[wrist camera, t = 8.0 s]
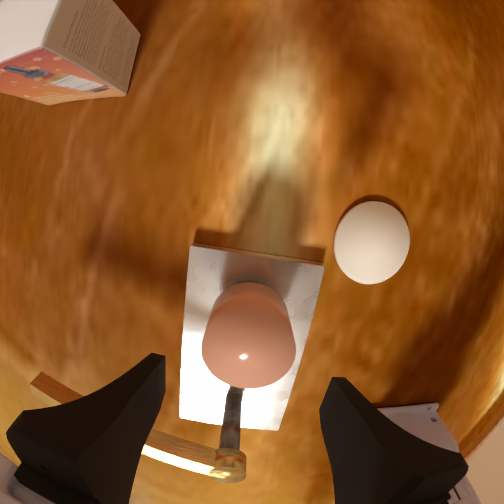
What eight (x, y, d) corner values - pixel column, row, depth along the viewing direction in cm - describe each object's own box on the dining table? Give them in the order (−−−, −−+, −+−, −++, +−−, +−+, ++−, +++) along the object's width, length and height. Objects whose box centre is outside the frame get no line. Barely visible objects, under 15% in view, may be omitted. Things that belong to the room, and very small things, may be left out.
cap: (295, 288, 17) (306, 318, 14) (279, 354, 19) (285, 392, 15) (215, 276, 17) (205, 303, 13) (207, 344, 18) (198, 381, 15)
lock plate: (321, 262, 20) (352, 302, 13) (277, 423, 24) (282, 481, 17) (193, 242, 20) (163, 274, 13) (181, 410, 24) (165, 466, 17)
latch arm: (251, 452, 16) (251, 471, 14) (239, 468, 16) (238, 485, 15) (41, 365, 15) (29, 377, 13) (43, 387, 15) (32, 400, 14)
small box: (48, 106, 17) (-43, 85, 7) (63, 48, 16) (-14, 7, 6) (128, 97, 17) (40, 48, 7) (143, 33, 16) (79, -40, 6)
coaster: (414, 210, 19) (416, 211, 19) (395, 286, 21) (398, 288, 20) (342, 193, 19) (344, 193, 19) (325, 276, 20) (326, 278, 20)
